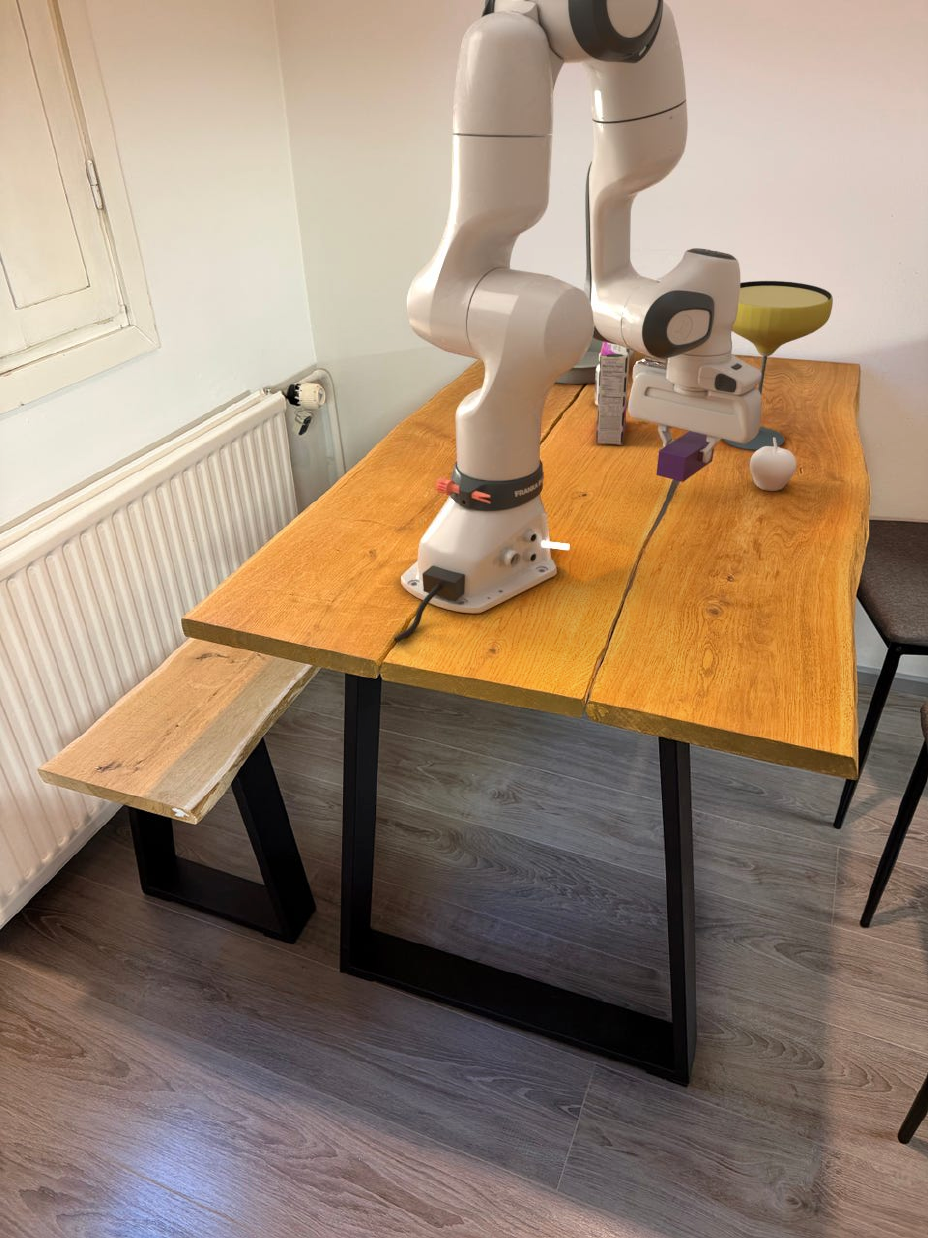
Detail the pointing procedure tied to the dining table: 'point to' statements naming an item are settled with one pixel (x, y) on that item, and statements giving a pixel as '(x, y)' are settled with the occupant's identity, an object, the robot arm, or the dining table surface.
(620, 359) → the candy bar box
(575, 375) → the cake pan
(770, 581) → the dining table surface
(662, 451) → the purple rectangular block
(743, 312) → the cocktail glass
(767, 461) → the plain white apple
